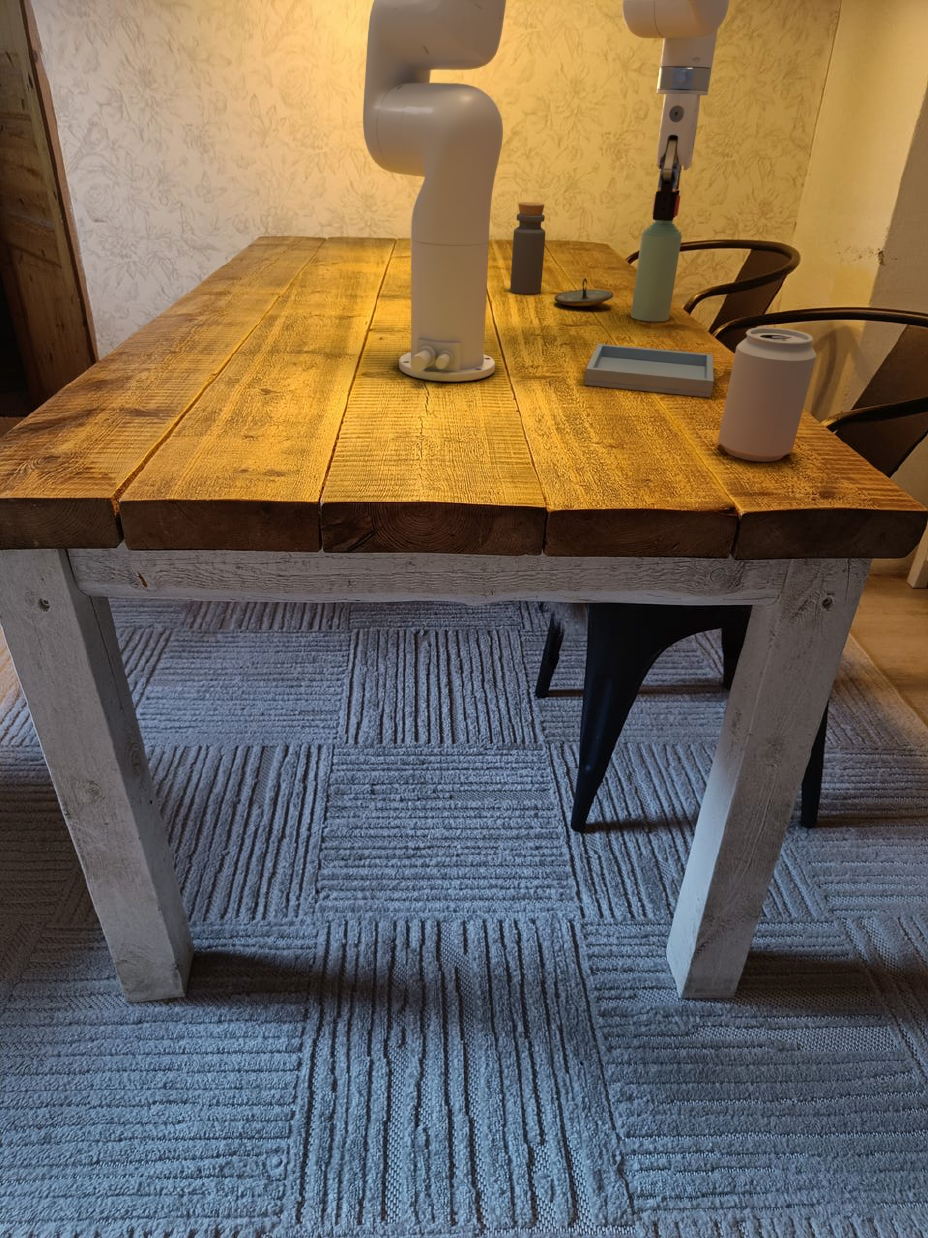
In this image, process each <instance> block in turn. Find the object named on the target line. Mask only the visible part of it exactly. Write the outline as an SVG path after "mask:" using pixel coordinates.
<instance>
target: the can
mask: <svg viewBox="0 0 928 1238" xmlns="http://www.w3.org/2000/svg"><path fill="white" fill-rule="evenodd" d="M745 334H746V337H745V338H744V339H743V340H742V341H740V342H739V343H738V344H737V346H736V347H735V353H734V356H733V363H732V367H731V373H730V377H729V382H728V386H727V387H728V388H727V392H726V397H725V402H724V407H723V411H722V417H721V422H720V427H719V432H718V437H717V440H718V443H719V444H720V445H721V446H722V447H723V449H724V451H725V452H726V453H728V454H729V455H731V456H732V457H735V458H738V459H742V460H745V461H752V462H760V463H761V462H763V463H764V462H775V461H780V459H782V458H784V457H785V456H786V455H788V454H790V453H792V452H793V450H794V447H795V442H796V439H797V435H798V430H799V428H800V427H799V426H800V422H801V418H802V415H803V411H804V407H805V402H806V398H807V394H808V391H809V387H810V382H811V380H812V379H811V378H812V375H813V371H814V367H815V363H816V359H817V352H816V351H815V349H814V347H813V346H812V343H813V341H814V340H815V339H814V337H813V335H811V334H809V333H806V332H804V331H800V330H796V329H792V328H791V329H790V328H783V327H773V326H772V327H770V326H769V327H768V326H761V327H753V328H749V329H748V330H747V331H746V332H745Z"/></svg>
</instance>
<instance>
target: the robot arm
mask: <svg viewBox="0 0 928 1238" xmlns="http://www.w3.org/2000/svg"><path fill="white" fill-rule="evenodd" d="M729 5H730V0H622V4H621V11H622V12H621V13H622V19H623V22H624V24H625V26H626V28H627V29H628V31H629V32H630V33H632V34H633V35H635V36H636V37H638V38H641V39H663V42H662V49H661V58H660V64H659V65H660V66H659V72H658V79H657V87H656V95H663V100H662V109H661V116H660V123H659V124H660V125H659V131H658V139H657V150H656V167H657V168H658V169H659V178H658V184H657V191H655V194H656V197H655V204H654V211H653V214H652V219H653V221H655V220H661V221H672V220H673V221H674V219H675V218H676V216H674V212H675V205H676V198H677V195H679V196H680V191H681V190H680V182H681V176H682V170H683V171H687V170H689V169H690V168H691V167H692V165H693V164H692V163H693V158H694V157H693V156H694V149H695V143H696V135H697V128H698V122H699V121H698V120H699V115H700V114H699V113H700V103H701V102H700V101H701V96H708V95H709V89H710V83H711V75H712V69H713V62H714V56H715V50H716V43H717V37H718V31H719V28H720V26H722V24H723V22H724V20H725V18H726V17H727V13H728V10H729ZM506 6H507V0H373V2H372V5H371V10H370V15H369V21H368V30H367V44H366V59H365V73H364V74H365V75H364V90H363V105H362V107H363V109H362V129H363V137H364V142H365V146H366V149H367V152H368V154H369V156H370V157H371V159H372V160H373V162H374V163H375V164H376V165H377V167H379V168H381V169H382V170H384V171H386V172H388V173H392V174H396V175H403V176H412V177H421V178H423V181H422V184H421V187H420V189H419V192H418V194H417V195H416V198H415V201H414V203H413V207H412V211H411V212H412V213H411V217H410V351H409V352H407V353H404V354H403V355H401V356H400V357H399V359H398V369H399V370H400V372H403V373H404V374H405V375H408V376H410V377H413V378H416V379H421V380H427V381H436V382H469V381H475V380H480V379H484V378H487V377H489V376H491V375H492V374H494V373H495V371H496V361H495V359H493V358H492V357H491V356H489V355H487V354H485V340H486V339H485V337H486V316H487V295H488V293H487V292H488V273H489V271H488V270H489V251H490V250H489V249H490V223H491V210H492V209H491V208H492V201H493V200H492V199H493V192H494V191H493V190H494V185H495V179H496V174H497V169H498V165H499V161H500V156H501V151H502V146H503V138H504V127H503V118H502V114H501V111H500V109H499V107H498V105H497V103H496V102H495V100H494V99H493V98H492V97H491V96H490V95H489V93H487V92H486V91H485V90H483V89H481V88H479V87H477V86H474V85H471V84H467V83H459V82H431V75H432V71H472V70H477V69H480V68H484V67H485V66H487V65H488V64H490V63H491V62H492V61H493V59H494V58H495V57H496V55H497V53H498V51H499V50H498V49H499V47H500V44H501V40H502V33H503V27H504V20H505V13H506Z"/></svg>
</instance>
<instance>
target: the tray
mask: <svg viewBox="0 0 928 1238" xmlns="http://www.w3.org/2000/svg"><path fill="white" fill-rule="evenodd" d="M714 382H715V375H714V354H712V353H703V352H691V351H682V350H669V349H660V348H659V349H658V348H649V347H637V346H627V345H626V346H625V345H617V344H606V343H605V344H604V343H597V344H596V347H595V349H594V351H593V353H592V355H591V356H590V360H589V362H588V364H587V366H586V368H585V377H584V385H585V386H591V387H598V388H599V387H600V388H611V389H619V390H620V389H621V390H629V391H639V392H649V393H660V394H668V395H669V394H670V395H679V396H689V397H699V398H707V399H708V398H709V399H711V397H712V393H713V389H714Z"/></svg>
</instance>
